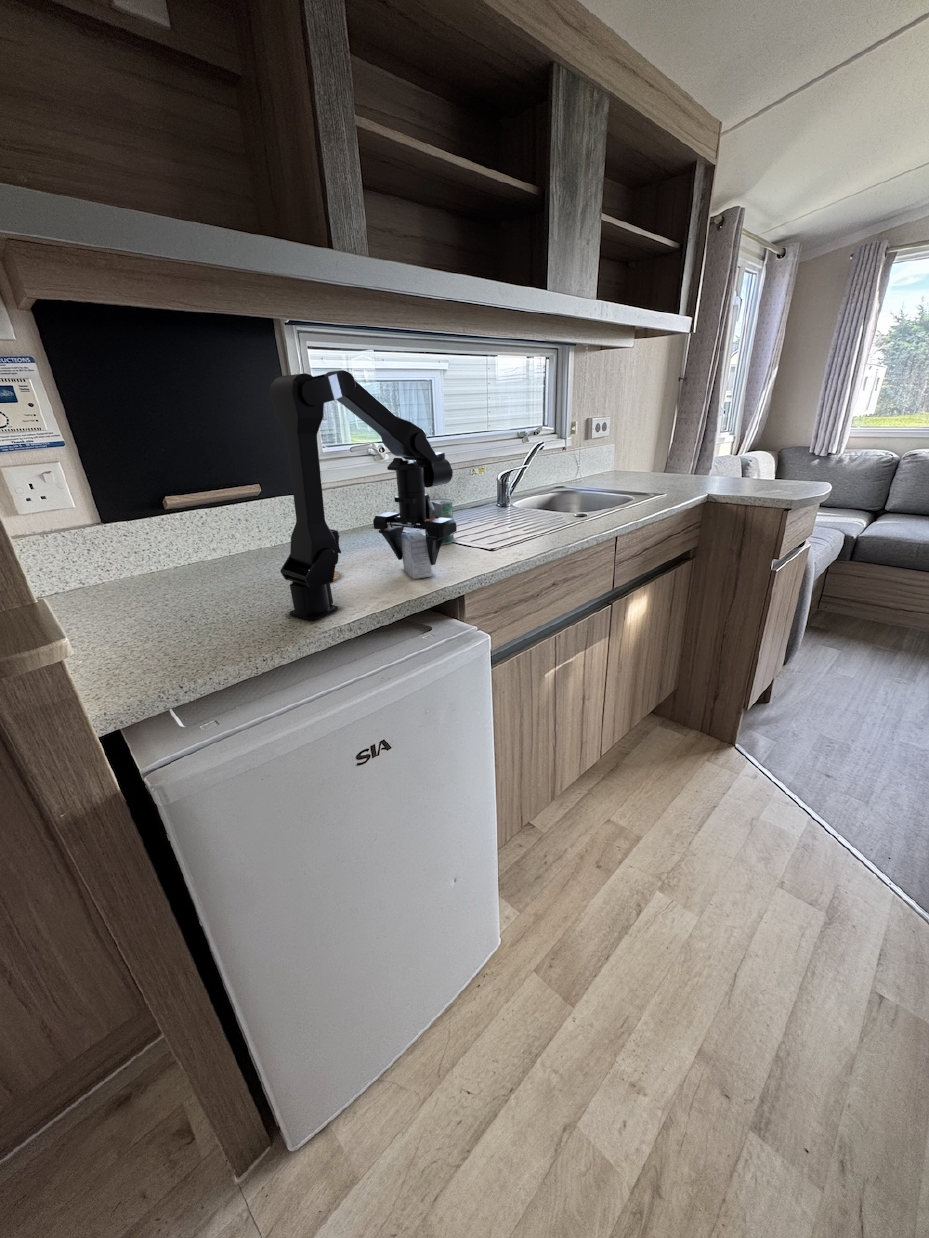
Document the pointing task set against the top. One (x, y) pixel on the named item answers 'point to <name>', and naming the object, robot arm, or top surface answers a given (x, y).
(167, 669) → the top surface
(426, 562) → the medicine box
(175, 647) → the top surface
